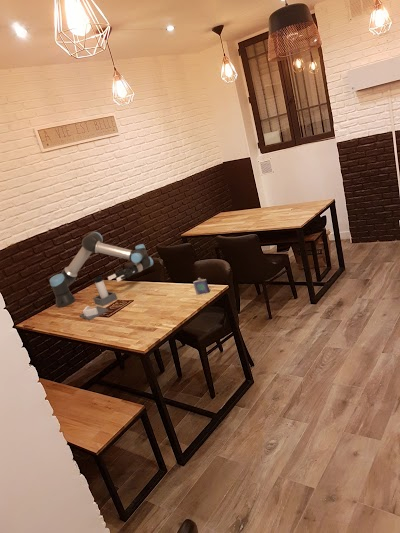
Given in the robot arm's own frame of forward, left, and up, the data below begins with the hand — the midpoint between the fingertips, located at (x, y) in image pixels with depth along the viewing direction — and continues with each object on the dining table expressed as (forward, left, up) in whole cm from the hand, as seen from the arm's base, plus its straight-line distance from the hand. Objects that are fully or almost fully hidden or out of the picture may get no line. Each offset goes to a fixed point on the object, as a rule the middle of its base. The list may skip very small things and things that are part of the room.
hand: (112, 279), depth 304 cm
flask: (+74, +24, -14) cm, 79 cm away
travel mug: (0, -10, -14) cm, 17 cm away
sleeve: (0, -10, -13) cm, 17 cm away
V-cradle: (+12, -27, -13) cm, 32 cm away
